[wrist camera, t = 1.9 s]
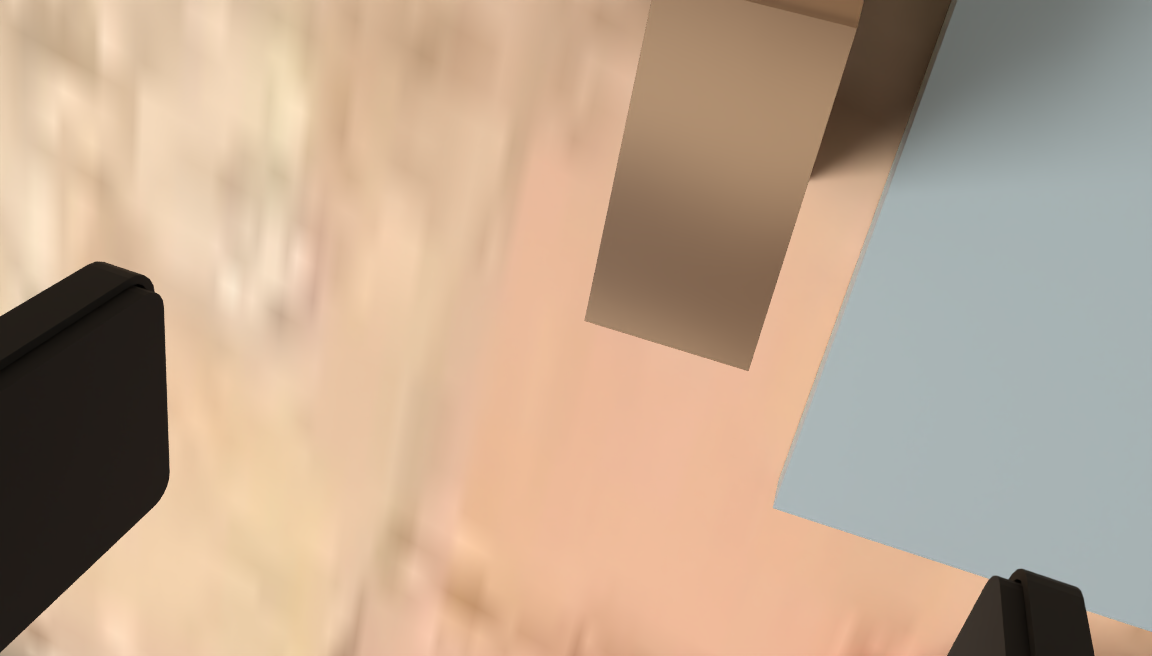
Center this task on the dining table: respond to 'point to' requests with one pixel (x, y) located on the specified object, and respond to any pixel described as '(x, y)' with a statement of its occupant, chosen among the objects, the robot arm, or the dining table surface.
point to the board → (1004, 314)
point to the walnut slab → (716, 167)
